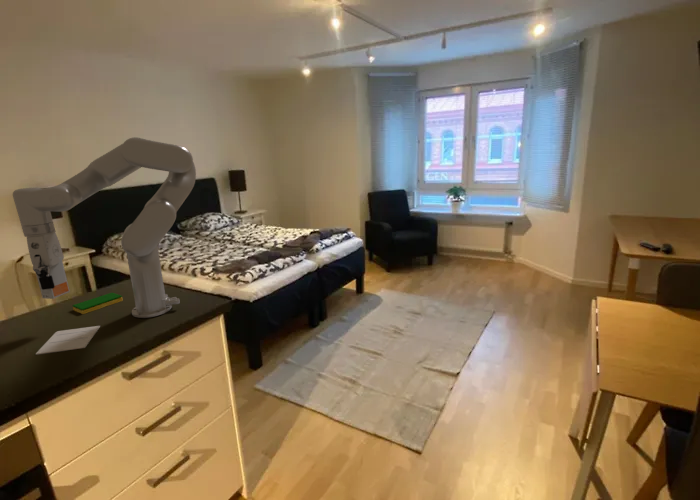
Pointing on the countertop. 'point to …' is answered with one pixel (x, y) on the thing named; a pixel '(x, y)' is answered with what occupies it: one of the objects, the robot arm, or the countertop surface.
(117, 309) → the countertop surface
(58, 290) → the skincare box
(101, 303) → the dish sponge
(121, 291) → the countertop surface
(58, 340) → the paper
